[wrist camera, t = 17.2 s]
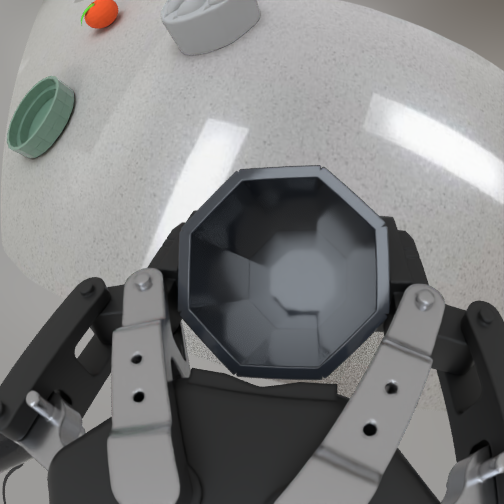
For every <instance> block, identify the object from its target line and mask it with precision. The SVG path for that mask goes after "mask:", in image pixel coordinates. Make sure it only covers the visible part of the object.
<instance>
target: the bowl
mask: <svg viewBox="0 0 504 504" xmlns="http://www.w3.org/2000/svg"><path fill="white" fill-rule="evenodd" d="M73 104H74V92H73V91H72V89H71V88H70V87H68V86H67V85H66V84H65V83H63V82H62V81H61V80H59V79H58V78H57V77H55V76H49V77H46V78H44V79H42V80H41V81H39V82H38V83H37V84H35V85H34V86H33V87H32V89H31V90H30V91H29V92H28V93H27V94H26V95H25V97H24V98H23V99H22V101H21V102H20V104H19V106H18V107H17V109H16V111H15V113H14V115H13V117H12V120H11V122H10V125H9V129H8V133H7V144H8V147H9V148H10V149H11V150H13V151H15V152H17V153H19V154H21V155H24V156H26V157H28V158H36V157H38V156H39V155H41V154H43V153H44V152H45V151H46V150H47V149H48V148H49V147H50V146H51V145H52V144H53V143H54V142H55V140H56V139H57V138H58V136H59V135H60V134H61V132H62V131H63V129H64V127H65V125H66V124H67V122H68V119H69V117H70V114H71V112H72V109H73Z"/></svg>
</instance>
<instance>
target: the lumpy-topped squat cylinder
mask: <svg viewBox="0 0 504 504" xmlns="http://www.w3.org/2000/svg"><path fill="white" fill-rule="evenodd" d="M259 18H260V11H259V8H258V4H257V1H256V0H167V2H166V3H165V5H164V7H163V8H162V10H161V20H162V22H163V24H164V25H165V27H166V28H167V30H168V32H169V33H170V35H171V36H172V38H173V39H174V41H175V43H176V44H177V46H178V47H179V49H180V51H181V52H182V53H184V54H186V55H199V54H204V53H208V52H211V51H214V50H217V49H219V48H222V47H224V46H227V45H229V44H231V43H232V42H234V41H235V40H237V39H238V38H239V37H241V36H242V35H243V34H244V33H246V32H247V31H248V30H249V29H250V28H251V27H252V26H253V25H255V24H256V23H257V21H258V20H259Z"/></svg>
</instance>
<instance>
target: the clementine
mask: <svg viewBox="0 0 504 504" xmlns="http://www.w3.org/2000/svg"><path fill="white" fill-rule="evenodd" d="M117 14H118V6H117V4H116V3H115V2H114V1H113V0H96V1H94V2H93V3H91V4H90V5H89V6H88V8H87V9H86V10H85V11H84V13H83V15H82V18H81V24H82V19H83V17H84V15H85V21H86V23H87V24H88V25H89V26H90V27H92V28H104V27H107V26H108V25H110V24H111V23H112V22H113V21H114V20H115V19H116V17H117Z"/></svg>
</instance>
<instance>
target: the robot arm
mask: <svg viewBox="0 0 504 504" xmlns="http://www.w3.org/2000/svg"><path fill="white" fill-rule="evenodd" d="M196 212H197V211H193V212H192V214H191V215H190V217H189V218H188V220H189V219H190V218H191V217H192V216H193V215H194V214H195V213H196ZM380 217H381V218H382V219H383V220H384V221H385V223H386V224H385V225H384V226H387V227H388V240H389V263H390V313H389V314H386V315H387V316H388V318H387V319H386V320H385V321H384V322H383V323H382V324H381V325H380V326H379V327H378V329H377V330H376V332H384V337H383V339H382V341H381V343H380V345H379V347H378V349H377V351H376V353H375V355H374V357H373V359H372V360H371V362H370V364H369V366H368V368H367V370H366V372H365V373H364V375H363V377H362V379H361V381H360V382H359V384H358V386H357V388H356V389H355V391H354V393H353V395H352V396H351V398H347V397H345V396H342V395H339V394H337V384H323V383H306V382H298V383H291V384H283V385H276V386H267V387H259V386H256V385H253V384H250V383H248V382H245V381H243V380H240V379H238V378H235V377H233V376H230V375H227V374H225V373H219V372H213V371H207V370H201V369H195V368H192V369H191V370H190V365H189V360H188V353H187V347H186V341H185V334H184V328H183V325H182V323H181V320H182V318H181V316H180V315H179V313H180V312H179V311H178V261H179V236H180V231H183V230H182V229H181V228H182V227H183V226H184V224H185V223H181V224H179V225H178V226H177V227H175V228H174V229H173V230H172V231H171V233H170V234H169V236H168V237H167V240H165V242H164V243H163V245H162V247H161V248H160V249H159V251H158V252H157V254H156V255H155V257H154V258H153V260H152V261H151V263H150V265H149V266H148V268H145V269H141V270H139V271H136V272H135V273H133V274H132V275H131V276H130V277H129V278H128V279H127V280H126V282H125V284H124V285H119V286H113V287H106V285H105V283H104V281H103V280H102V279H101V278H98V277H92V278H88V279H86V280H84V281H82V282H81V283H80V284H78V285H77V286H76V288H75V289H74V290H73V291H72V292H71V293H70V295H69V296H68V297H67V298H66V299H65V300H64V302H63V303H62V304H61V305H60V306H59V308H58V309H57V310H56V311H55V312H54V314H53V315H52V316H51V318H50V319H49V320H48V321H47V322H46V324H45V325H44V326H43V327H42V329H41V330H40V331H39V333H38V334H37V335H36V336H35V338H34V339H33V340H32V342H31V343H30V344H29V346H28V347H27V348H26V350H25V351H24V353H23V354H22V355H21V357H20V358H19V360H18V361H17V362H16V364H15V365H14V367H13V368H12V369H11V371H10V372H9V374H8V375H7V377H6V378H5V380H4V381H3V383H2V384H1V386H0V473H2V472H4V471H6V470H9V469H11V468H12V469H11V470H10V471H9V472H8V474H7V475H6V477H5V479H4V482H3V500H4V504H6V501H5V484H6V481H7V479H8V477H9V476H10V475H11V473H12V472H14V471H15V470H16V469H18V468H20V467H21V466H22V465H23V464H24V462H27V461H29V460H31V459H33V458H34V459H35V460H36V461H37V462H38V463H40V464H41V465H42V466H43V467H44V468H45V469H46V470H47V471H48V479H47V480H48V489H49V501H50V504H504V321H503V319H502V317H501V315H500V313H499V312H498V311H497V309H496V308H495V307H494V306H492V305H491V304H489V303H487V302H484V301H475V302H473V303H471V304H470V305H469V307H468V309H467V310H466V311H465V310H462V309H459V308H455V307H452V306H449V305H446V304H445V301H444V298H443V296H442V295H441V293H440V292H439V291H438V290H436V289H435V288H433V287H432V286H429V284H428V281H427V278H426V275H425V272H424V268H423V265H422V262H421V259H420V258H419V254H418V251H417V248H416V245H415V242H414V240H413V238H412V237H411V236H410V235H409V234H408V233H407V232H406V231H401V230H397V227H396V224H395V221H394V218H393V217H388V216H380ZM188 220H187V221H188ZM89 327H90V328H91V329H92V331H93V332H94V334H95V335H94V336H93V337H92V339H91V340H90V342H89V343H88V344H87V346H86V347H85V349H84V350H83V351H82V353H81V354H80V356H79V357H78V358H77V359H76V357H75V354H74V353H75V347H76V345H77V344H78V342H79V341H80V339H81V338H82V337H83V335H84V334H85V333H86V331H87V330H88V329H89ZM431 368H433V369H436V370H437V374H438V377H439V381H440V384H441V388H442V392H443V396H444V400H445V404H446V409H447V413H448V417H449V422H450V427H451V432H452V437H453V442H454V448H455V454H456V461H457V463H456V464H455V466H454V467H453V468H452V470H451V471H450V473H449V476H448V481H447V485H446V487H447V491H446V494H445V497H444V499H443V500H442V502H441V503H440V501H439V500H438V499H437V498H436V496H435V495H434V494H433V493H432V491H431V490H430V489H429V488H428V486H427V485H426V484H425V482H424V481H423V480H422V478H421V477H420V476H419V475H418V473H417V472H416V471H415V469H414V468H413V467H412V466H411V464H410V463H409V462H408V460H407V459H406V458H405V457H404V455H403V454H402V453H401V451H400V450H399V449H398V448H397V447H398V445H399V443H400V441H401V439H402V437H403V435H404V433H405V431H406V429H407V426H408V424H409V422H410V420H411V418H412V415H413V413H414V411H415V408H416V406H417V404H418V401H419V399H420V396H421V394H422V391H423V388H424V386H425V383H426V380H427V378H428V375H429V372H430V369H431ZM110 373H111V403H112V404H111V407H112V417H110V418H109V419H107V420H106V421H104V422H103V423H101V424H99V425H98V426H97V427H95V428H93V429H92V430H90V431H88V432H87V433H85V429H84V428H83V427H82V418H83V416H84V415H85V413H86V411H87V410H88V408H89V407H90V405H91V403H92V402H93V400H94V398H95V397H96V395H97V394H98V392H99V390H100V389H101V387H102V386H103V384H104V382H105V381H106V379H107V378H108V376H109V375H110ZM13 467H14V468H13Z"/></svg>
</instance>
